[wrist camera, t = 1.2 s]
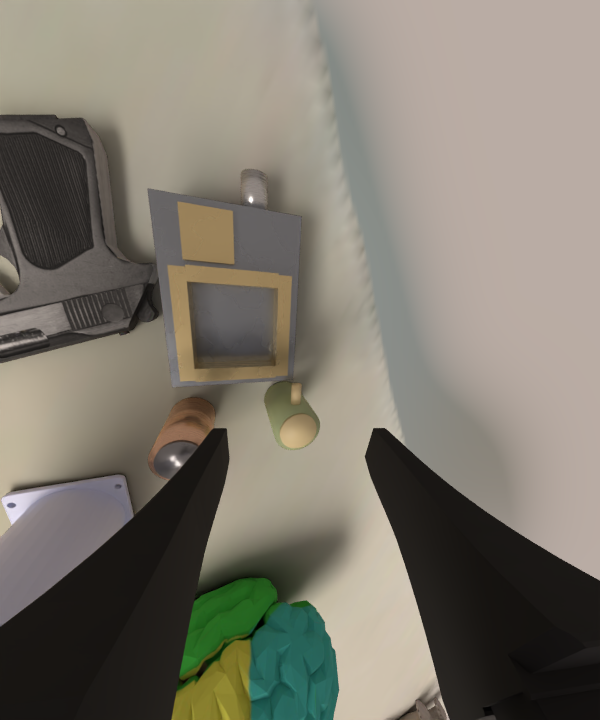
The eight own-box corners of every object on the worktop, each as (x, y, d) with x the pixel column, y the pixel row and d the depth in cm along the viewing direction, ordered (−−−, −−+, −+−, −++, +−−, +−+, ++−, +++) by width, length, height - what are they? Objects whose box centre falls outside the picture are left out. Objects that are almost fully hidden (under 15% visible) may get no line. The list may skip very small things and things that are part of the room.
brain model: (300, 530, 28) (356, 760, 14) (324, 601, 35) (377, 804, 21) (107, 614, 24) (-72, 1039, 10) (176, 676, 31) (122, 984, 17)
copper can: (216, 430, 21) (211, 478, 15) (172, 436, 20) (150, 489, 14) (214, 395, 20) (207, 434, 14) (167, 399, 19) (142, 442, 13)
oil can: (298, 412, 23) (319, 448, 18) (264, 416, 22) (274, 456, 17) (301, 365, 22) (325, 389, 16) (264, 367, 20) (276, 393, 15)
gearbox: (283, 366, 21) (298, 386, 16) (182, 371, 18) (166, 396, 14) (290, 196, 17) (311, 160, 12) (161, 169, 14) (127, 111, 10)
